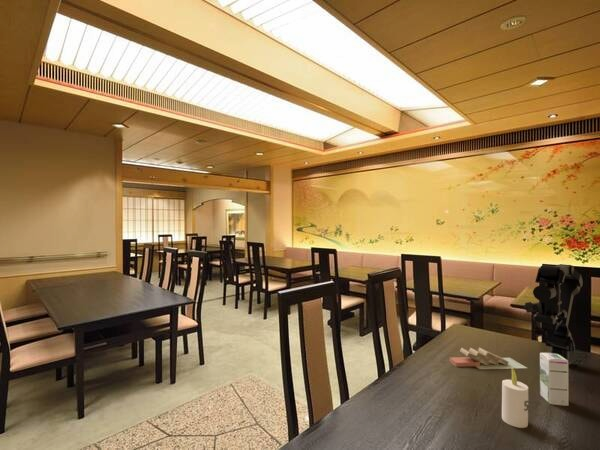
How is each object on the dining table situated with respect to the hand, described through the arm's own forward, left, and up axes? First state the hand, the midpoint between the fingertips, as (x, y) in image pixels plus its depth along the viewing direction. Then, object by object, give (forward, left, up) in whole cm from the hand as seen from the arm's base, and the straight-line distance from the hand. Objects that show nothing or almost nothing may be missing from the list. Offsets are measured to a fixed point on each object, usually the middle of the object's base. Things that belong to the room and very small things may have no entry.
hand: (550, 337), depth 126 cm
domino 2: (+15, -18, -12) cm, 26 cm away
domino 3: (+12, -15, -12) cm, 23 cm away
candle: (+49, +5, -13) cm, 51 cm away
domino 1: (+18, -20, -12) cm, 29 cm away
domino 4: (+8, -13, -12) cm, 20 cm away
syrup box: (+26, +8, -13) cm, 30 cm away
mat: (+11, -15, -13) cm, 23 cm away
